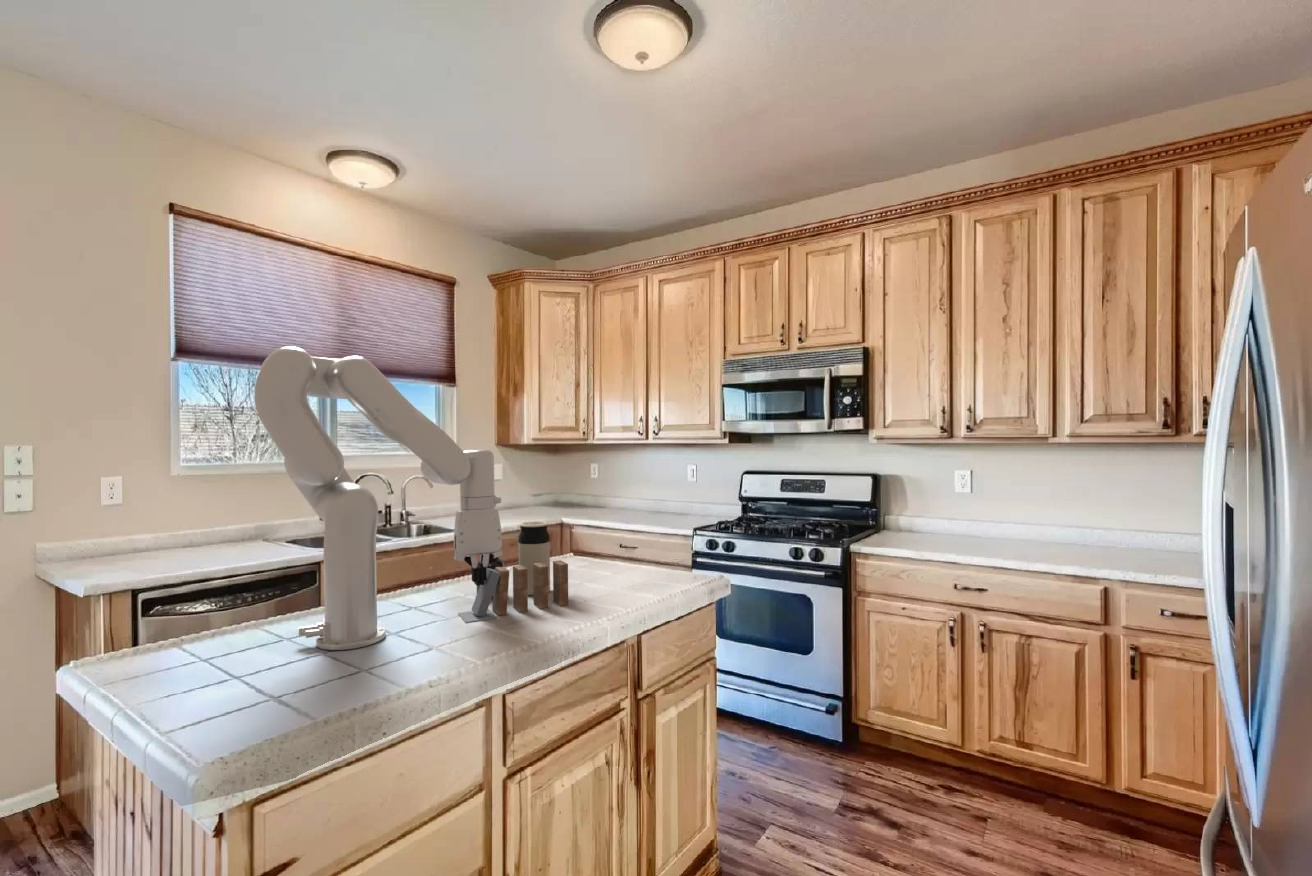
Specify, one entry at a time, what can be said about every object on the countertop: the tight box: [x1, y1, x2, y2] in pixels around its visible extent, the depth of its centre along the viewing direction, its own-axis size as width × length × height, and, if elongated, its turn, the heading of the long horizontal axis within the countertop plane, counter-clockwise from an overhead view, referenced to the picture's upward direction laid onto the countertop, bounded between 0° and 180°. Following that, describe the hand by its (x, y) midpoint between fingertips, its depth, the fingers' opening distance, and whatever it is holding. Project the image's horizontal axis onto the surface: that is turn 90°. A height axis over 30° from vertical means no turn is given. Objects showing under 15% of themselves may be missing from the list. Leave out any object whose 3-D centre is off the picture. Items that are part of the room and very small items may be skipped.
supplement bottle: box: [476, 554, 505, 600], centre depth 160 cm, size 7×7×12 cm
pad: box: [457, 608, 498, 624], centre depth 142 cm, size 7×8×1 cm
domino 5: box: [552, 559, 569, 608], centre depth 152 cm, size 2×5×10 cm, turn 29°
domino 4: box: [533, 563, 549, 610], centre depth 150 cm, size 2×5×10 cm, turn 29°
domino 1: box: [470, 568, 500, 617], centre depth 143 cm, size 2×5×10 cm, turn 30°
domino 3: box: [512, 564, 529, 614], centre depth 147 cm, size 2×5×10 cm, turn 29°
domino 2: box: [491, 566, 510, 616], centre depth 145 cm, size 2×5×10 cm, turn 29°
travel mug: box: [517, 520, 551, 596], centre depth 163 cm, size 8×8×18 cm
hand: (479, 584), depth 143 cm, fingers closed
